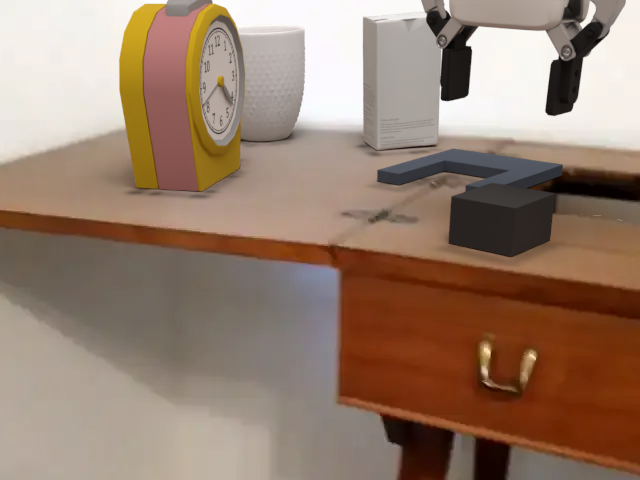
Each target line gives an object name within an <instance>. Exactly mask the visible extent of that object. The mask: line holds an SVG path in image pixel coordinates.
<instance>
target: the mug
mask: <svg viewBox="0 0 640 480" xmlns="http://www.w3.org/2000/svg"><path fill="white" fill-rule="evenodd" d="M236 27H237V30H238V34H239V38H240V41H241V45H242V49H243V57H244V67H245V98H244V104H243V110H242V116H241V140H243V141H248V142H259V143H260V142H264V143H265V142H275V141H282V140H284V139H287V138H288V137H289V136H290V135H291V133H292V132H293V130H294V128H295V125H296V123H297V122H298V118H299V116H300V112H301V108H302V103H303V99H304V98H303V96H304V91H305V82H306V81H305V77H306V75H305V74H306V45H305V42H306V41H305V38H306V37H305V33H306V32H305V28H304V27H303V26H300V25H292V24H250V25H236Z"/></svg>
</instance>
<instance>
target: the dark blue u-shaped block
mask: <svg viewBox="0 0 640 480" xmlns="http://www.w3.org/2000/svg"><path fill="white" fill-rule="evenodd" d="M563 169H564V164H563V163H556V162H548V161H542V160H535V159H528V158H521V157H514V156H508V155H502V154H501V155H500V154H493V153H487V152H481V151H474V150H468V149H460V148H450V149H446V150H443V151H438V152H436V153H431V154H429V155H425V156H421V157H418V158H414V159H411V160H407V161H403V162H400V163H397V164H393V165H390V166H386V167H382V168H379V169H377V170H376V181H377V182H380V183H385V184H391V185H397V186H399V185H403V184H407V183H410V182H413V181H416V180H420V179H423V178H426V177H429V176H432V175H436V174H439V173H442V172H447V173H454V174H461V175H465V176H472V177H478V178H483V179H480V180H477V181H474V182H470V183H468V184H465V191H464V192H466V191H469V190H472V189H475V188H478V187H481V186H484V185H487V184H490V183H496V184H502V185H508V186H514V187H520V188H526V189H530V188H531V187H534V186H537V185H540V184H542V183H545V182H548V181H550V180H551V181H552V180H553V179H554V180H555V179H557V178H558V177H562V176H563Z"/></svg>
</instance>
